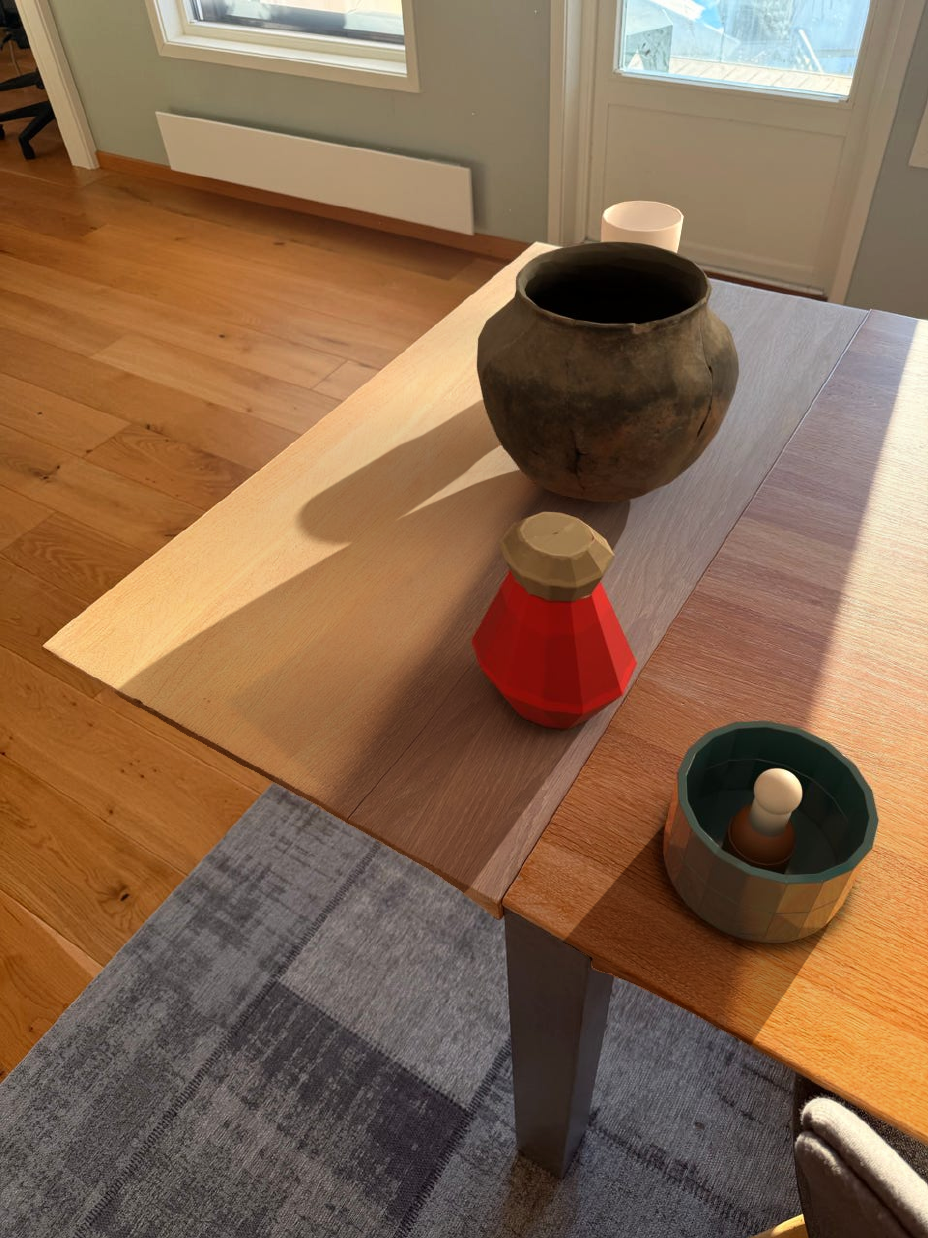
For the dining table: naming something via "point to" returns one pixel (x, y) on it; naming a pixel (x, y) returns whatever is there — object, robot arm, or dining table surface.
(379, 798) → the dining table surface
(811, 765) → the bowl
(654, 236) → the cup
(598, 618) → the bottle
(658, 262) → the pot
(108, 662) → the dining table surface
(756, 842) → the drumstick
